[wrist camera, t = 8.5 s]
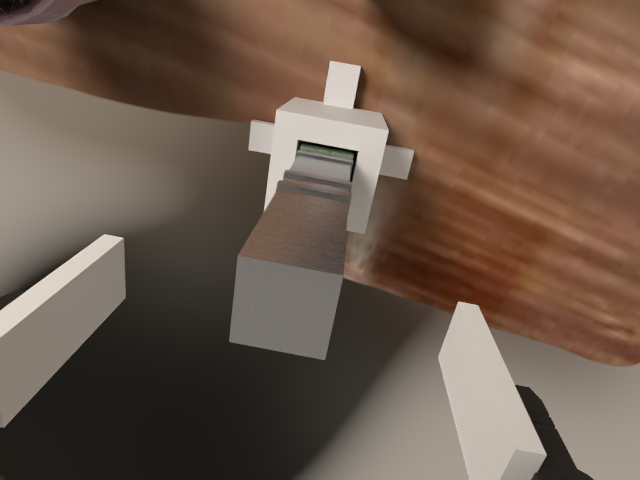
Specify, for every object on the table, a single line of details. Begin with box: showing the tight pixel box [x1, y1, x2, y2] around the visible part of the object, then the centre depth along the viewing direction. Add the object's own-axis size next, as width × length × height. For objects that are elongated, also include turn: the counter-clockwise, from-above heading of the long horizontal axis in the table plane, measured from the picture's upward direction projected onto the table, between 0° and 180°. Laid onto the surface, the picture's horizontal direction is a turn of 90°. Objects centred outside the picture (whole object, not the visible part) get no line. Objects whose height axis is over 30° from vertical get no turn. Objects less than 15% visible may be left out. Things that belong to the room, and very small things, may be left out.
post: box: [229, 141, 354, 360], centre depth 28 cm, size 4×4×24 cm
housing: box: [248, 61, 414, 234], centre depth 40 cm, size 17×17×11 cm
